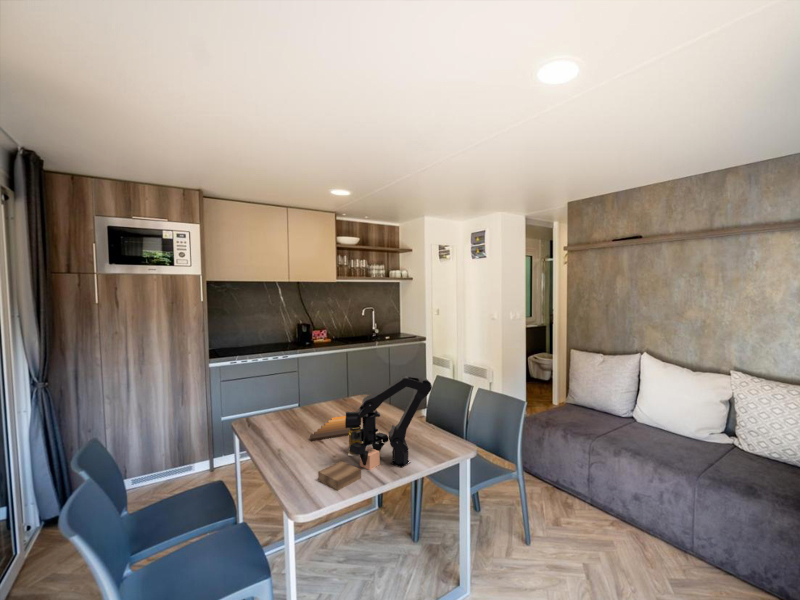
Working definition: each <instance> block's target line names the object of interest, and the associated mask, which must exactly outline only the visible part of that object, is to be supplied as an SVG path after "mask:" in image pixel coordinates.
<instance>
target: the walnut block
mask: <svg viewBox="0 0 800 600" xmlns="http://www.w3.org/2000/svg"><path fill="white" fill-rule="evenodd" d="M317 474H318V475H317V477H318V479H317V480H318V481H319V482H320V483H322V484H324V485H326V486H328V487H329V488H332V489H334V490H336V491H340V490H342V489H345V487H347V486H350V485H352V484H353V483H355V482H357V481H359V480H361V479H362V469H361V468H359V467H356V466H354V465H352V464H349V463H348V462H345V461H342V460H340V461H338V462H336V463H334V464H332V465H329V466H328V467H325V468H323V469H321V470H318V471H317Z"/></svg>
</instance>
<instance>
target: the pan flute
mask: <svg viewBox="0 0 800 600" xmlns="http://www.w3.org/2000/svg"><path fill="white" fill-rule="evenodd" d="M345 418H346V415H342V416H336V417H335V416H334V417H331V418H330V419H329V420H327V422H324V424H323V425H321V426H320V427H321V428H320V427H319V428H317V431H314V432H313V434H310V436H309V439H310V440H309V441H310V442H316V441H323V440H328V439H329V438H330V439H334V438H341V437H342V438H343V437H349V436H348V435H349V433H350V428H345Z"/></svg>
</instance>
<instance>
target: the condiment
mask: <svg viewBox="0 0 800 600" xmlns="http://www.w3.org/2000/svg"><path fill="white" fill-rule="evenodd" d="M361 429H362V427H361V426H360V427H359V428H350V433H349V436H348V447H349V446H350V445H351V444H354V443H356V442H358V443H360V444H362V443H363V441H362V442H361V441H360V440H356V441H354V440H352V439H351V432H353V431H356V432H358V431H360V430H361ZM347 456H349V457H352V456H353V457H354V456H358V455H357V454H355V453H352V452H350V451H349V450H348V454H347Z"/></svg>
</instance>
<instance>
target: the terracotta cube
mask: <svg viewBox="0 0 800 600" xmlns="http://www.w3.org/2000/svg"><path fill="white" fill-rule="evenodd" d="M366 451H368V457H367V462H366V465H365V466H364V465H363V463H362V460H361V457H360V456H359V467H362V468H364V469H367V470H369V471H371V470H373V469H375V468H377V467H378V465H379V466H380V463H381V461H380V457H381V456H380V453H379V451H377V450H375V449H373V447H368V448H366ZM376 466H377V467H376ZM374 467H375V468H374Z"/></svg>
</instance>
